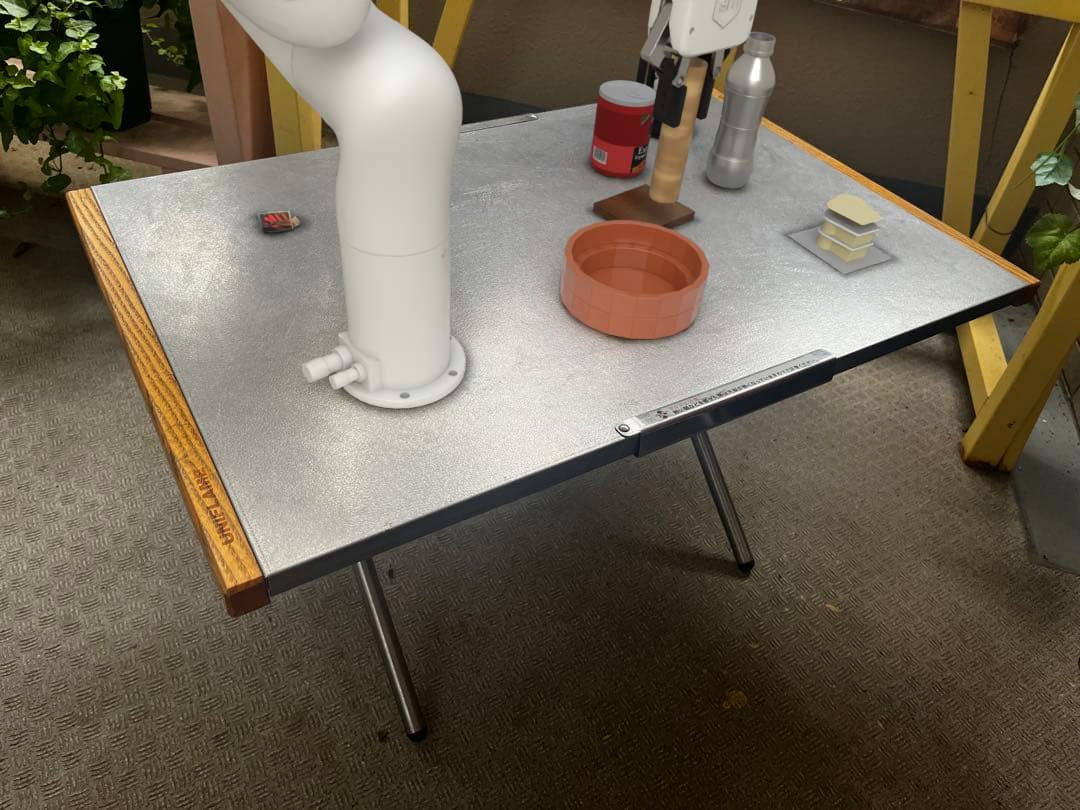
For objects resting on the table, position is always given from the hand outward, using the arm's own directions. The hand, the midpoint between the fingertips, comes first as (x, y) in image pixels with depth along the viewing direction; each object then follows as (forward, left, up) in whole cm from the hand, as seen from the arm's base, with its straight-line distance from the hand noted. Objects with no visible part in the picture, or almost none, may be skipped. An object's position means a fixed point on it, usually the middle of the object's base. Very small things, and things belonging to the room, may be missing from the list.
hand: (679, 116), depth 80 cm
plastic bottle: (+29, +12, -20) cm, 38 cm away
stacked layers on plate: (+28, -8, -20) cm, 36 cm away
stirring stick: (0, 0, -9) cm, 9 cm away
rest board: (+12, +12, -20) cm, 26 cm away
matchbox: (-28, +35, -20) cm, 49 cm away
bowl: (-4, -1, -20) cm, 21 cm away
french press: (+35, +30, -20) cm, 51 cm away
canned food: (+19, +24, -20) cm, 37 cm away
